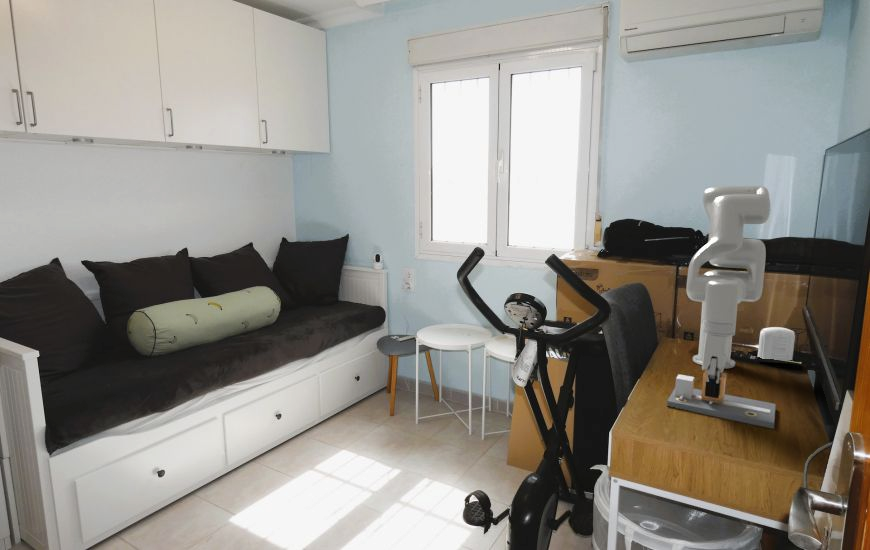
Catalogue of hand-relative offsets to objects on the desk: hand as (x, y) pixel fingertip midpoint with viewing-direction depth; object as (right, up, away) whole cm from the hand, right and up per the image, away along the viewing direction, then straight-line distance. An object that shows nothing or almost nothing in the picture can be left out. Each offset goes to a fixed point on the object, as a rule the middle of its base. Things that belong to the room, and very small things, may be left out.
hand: (713, 392), depth 137 cm
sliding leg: (-1, -2, -1) cm, 2 cm away
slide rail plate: (+2, -4, -1) cm, 4 cm away
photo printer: (+41, +1, +37) cm, 55 cm away
